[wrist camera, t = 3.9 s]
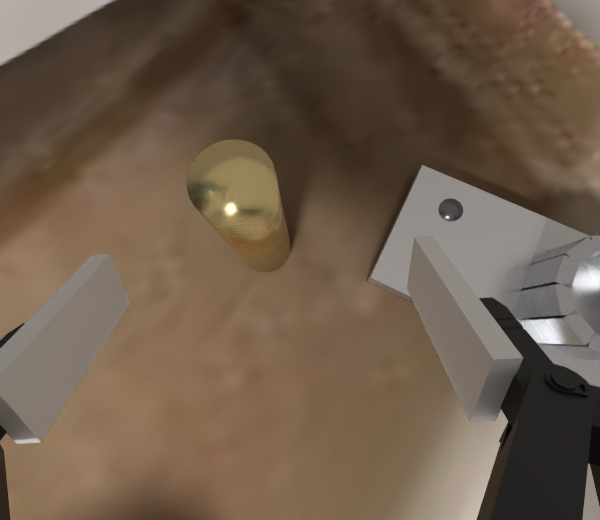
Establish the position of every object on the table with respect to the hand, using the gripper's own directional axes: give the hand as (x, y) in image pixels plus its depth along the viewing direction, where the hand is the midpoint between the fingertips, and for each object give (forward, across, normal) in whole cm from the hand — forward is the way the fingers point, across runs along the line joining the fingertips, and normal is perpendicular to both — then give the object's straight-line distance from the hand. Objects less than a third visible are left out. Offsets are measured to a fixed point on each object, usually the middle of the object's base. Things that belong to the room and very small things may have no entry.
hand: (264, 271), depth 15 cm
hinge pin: (+9, -1, -4) cm, 10 cm away
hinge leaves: (+5, +19, -7) cm, 21 cm away
